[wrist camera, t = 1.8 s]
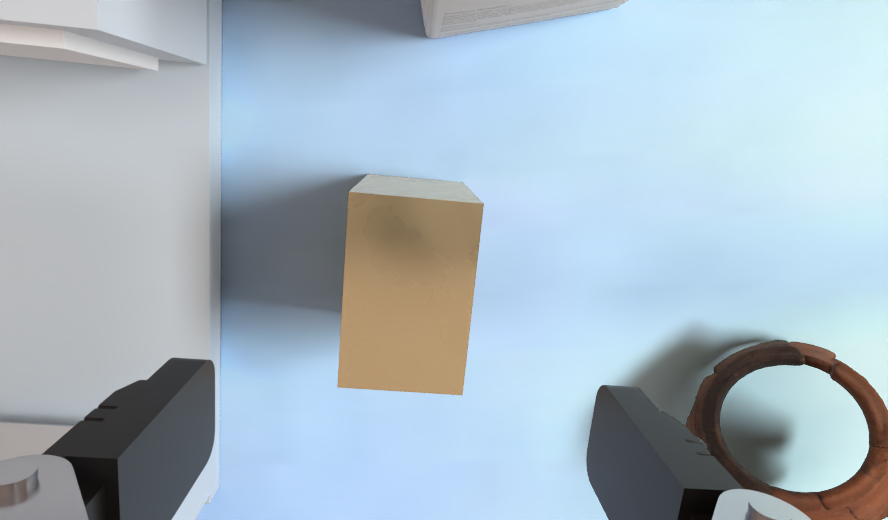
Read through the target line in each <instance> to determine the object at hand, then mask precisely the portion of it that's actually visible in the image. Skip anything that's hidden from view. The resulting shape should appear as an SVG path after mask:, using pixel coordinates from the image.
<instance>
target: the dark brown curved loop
mask: <svg viewBox="0 0 888 520" xmlns="http://www.w3.org/2000/svg"><path fill="white" fill-rule="evenodd" d="M835 357H836V355H835V354H834V353H833V352H831V351H829V350H827V349H824V348H821V347H818V346H814V345H811V344H806V343H800V342H790V343H788V342H787V341H784V340H775V341H771V342H766V343H761V344H758V345H755V346H751V347H748V348H746V349H743V350H741V351H738V352H736V353H734V354H732V355H730V356H729V357H727V358H726V359H724V360H723V361H722V362H720V363H719V364H717V365H716V366H715V367H714V374H712V375H710V376H708V377H706V378H705V379H704V380H703V382H702V384H701V386H700V388H699V390H698V393H697V396H696V399H695V402H694V405H693V407H692V410H691V412H690V415H689V417H688V419H687V422H686V427H687V428H688V429H689V430H690V431H691V432H692V434H693V435H695V436H697V437H698V438H700V439H702V440H703V441H704V442H705V443H706V444H707V450H708V451H709V452H710V456H714V457H715V458H716V459H717V460H718V462H719V463H720V464H721V465H722V466H723V467H724V468H725V469H726V470H727V471H728V472H729V473H730V475H731V476H732V477H733V478H734V479H735V480H736V481H737V482H738V483H739V484H740V485H741V486H742V487H743V489H747V490H753V491H757V492H761V493H765V494H768V495H771V496H773V497H776V498H778V499H780V500H782V501H784V502H786V503H788V504H790V505H792V506H794V507H795V508H797V509H798V510H800V511H801V512H803V513H804V514H805V515H806V516H807V517H809V518H810V519H811V520H882V519H884V518H886V517H888V410H887V408H886V406H885V404H884V402H883V400H882V399H881V397H880V396H879V395H878V393H877V392H876V391H875V389H874V388H873V387H872V386H871V385H870V384H869V383H868V381H867V380H866V379H865V378H864V377H863V376H861V375H860V374H858V373H857V372H856V371H854V370H853V369H852V368H850V367H849V366H848V365H846V364H844V363H843V362H841V361H839V360H837V359H835ZM803 364H805V365H808V366H812V367H815V368H818V369H820V370H822V371H824V372H826V373H828V374H830V376H831V378H832V379H833V380H834V381H836V382H837V383H839V384H840V385H841V386H842V387H843V388H845V389H846V390H847V391H848V392H849V393H850V394H851V395H852V396H853V398H854V399H855V400H856V402H857V403H858V405H859V406H860V408H861V409H862V411H863V414H864V416H865V418H866V421H867V425H868V429H869V451H868V454H867V457H866V459H865V461H864V462H863V464H862V466H861V468H860V469H859V470H858V472H857V473H856V474H855V475H854V476H853V477H851V478H850V479H849V480H848V481H846V482H845V483H843V484H841V485H839V486H837V487H834V488H832V489H829V490H825V491H820V492H806V493H804V492H793V491H788V490H784V489H781V488H777V487H773V486H769V485H768V484H766V483H764V482H762V481H760V480H758V479H757V478H755V477H754V476H752V475H751V474H750V473H748V472H747V471H746V470H745V469H744V468H743V467H742V466H741V465H740V464H739V463H738V462H737V461H736V460H735V458H734V457H733V456H732V454H731V453H730V451H729V450H728V448H727V446H726V444H725V442H724V439H723V437H722V435H721V429H720V411H721V407H722V404H723V401H724V399H725V397H726V395H727V393H728V391H729V390H730V389H731V387H732V386H733V385H734V384H735V383H736V382H737V381H738V380H740V379H741V378H743V377H744V376H746V375H747V374H749V373H751V372H753V371H755V370H758V369H761V368H765V367H770V366H777V365H793V366H799V365H803Z"/></svg>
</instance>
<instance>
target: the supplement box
mask: <svg viewBox="0 0 888 520" xmlns="http://www.w3.org/2000/svg"><path fill="white" fill-rule="evenodd" d="M626 1H628V0H420V4H421V10H422V16H423V21H424V26H425V32H426V35H427V37H428V38H432V39H435V38H441V37H448V36H453V35H459V34H465V33H471V32H478V31H484V30H490V29H496V28H502V27H508V26H514V25H519V24H525V23H531V22H537V21H543V20H549V19H554V18H560V17H566V16H572V15H578V14H584V13H589V12H595V11H601V10H607V9H612V8H616V7H618V6H620V5H621V4H623V3H624V2H626Z"/></svg>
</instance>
